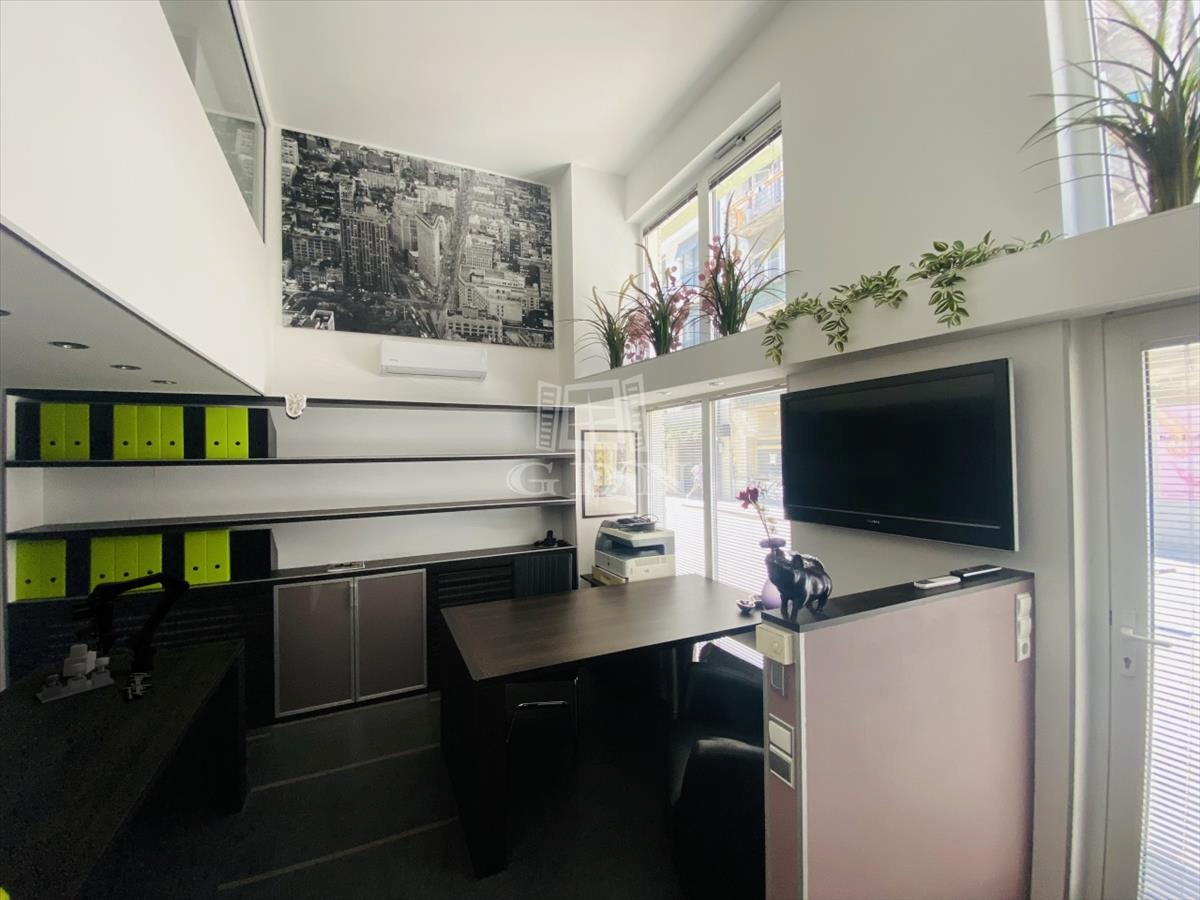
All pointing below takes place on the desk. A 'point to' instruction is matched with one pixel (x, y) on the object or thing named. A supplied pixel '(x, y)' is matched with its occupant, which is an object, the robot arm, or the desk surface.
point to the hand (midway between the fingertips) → (102, 653)
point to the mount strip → (74, 686)
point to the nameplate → (137, 686)
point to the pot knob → (52, 680)
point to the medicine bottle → (80, 658)
